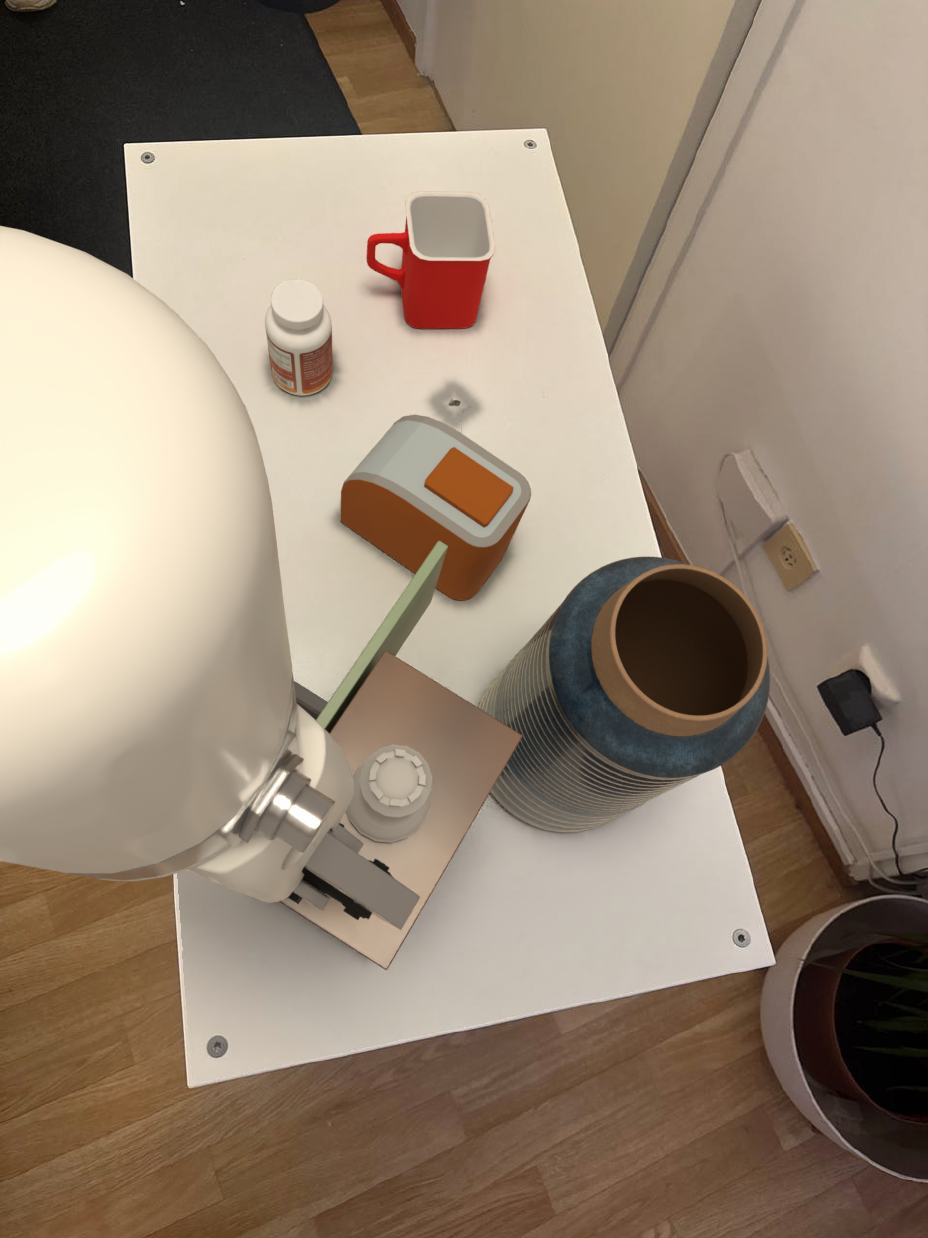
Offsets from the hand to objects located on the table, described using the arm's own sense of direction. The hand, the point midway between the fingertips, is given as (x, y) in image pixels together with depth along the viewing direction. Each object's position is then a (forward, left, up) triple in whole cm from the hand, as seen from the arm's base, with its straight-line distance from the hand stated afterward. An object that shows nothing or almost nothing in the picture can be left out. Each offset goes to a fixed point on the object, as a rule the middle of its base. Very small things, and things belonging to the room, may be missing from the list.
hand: (215, 802), depth 36 cm
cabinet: (+5, +5, -40) cm, 41 cm away
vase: (+16, +22, -40) cm, 48 cm away
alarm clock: (-5, +33, -40) cm, 52 cm away
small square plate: (-11, +47, -41) cm, 63 cm away
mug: (-20, +56, -40) cm, 72 cm away
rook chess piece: (+6, +5, -9) cm, 12 cm away
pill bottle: (-25, +41, -40) cm, 63 cm away
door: (-2, +13, -19) cm, 23 cm away
